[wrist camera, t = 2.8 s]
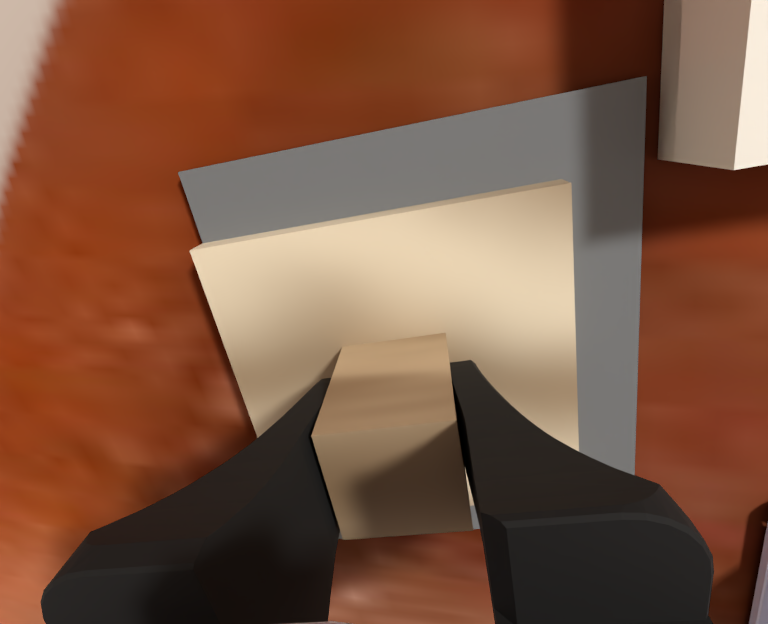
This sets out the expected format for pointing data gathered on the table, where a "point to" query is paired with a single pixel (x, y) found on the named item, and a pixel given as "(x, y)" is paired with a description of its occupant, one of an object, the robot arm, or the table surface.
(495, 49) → the table surface
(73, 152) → the table surface
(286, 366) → the lid
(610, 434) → the mat
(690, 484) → the table surface
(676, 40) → the white square tray
